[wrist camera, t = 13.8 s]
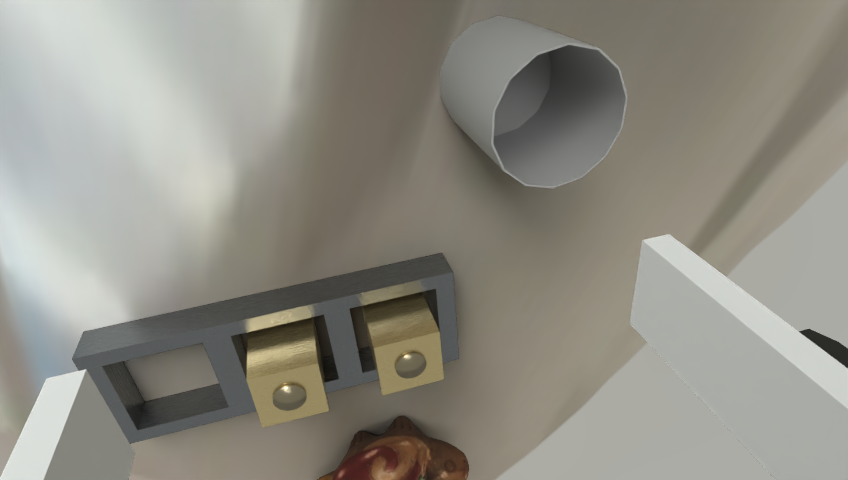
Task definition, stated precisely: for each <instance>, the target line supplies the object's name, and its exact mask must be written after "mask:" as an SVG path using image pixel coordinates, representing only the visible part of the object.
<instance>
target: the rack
mask: <svg viewBox="0 0 848 480" xmlns="http://www.w3.org/2000/svg"><path fill="white" fill-rule="evenodd" d="M427 290H428V292H429V302H430V311H431V314H432V316H433V318H434V320H435V323H436V325H437V327H438V329H439V332H440V341H441V352H442V363H445V362H448V361H452V360H456V359H459V352H458V337H457V323H456V309H455V295H454V281H453V271H452V270H451V268H450V266H449V264H448V263H447V261H446V259H445V257H444V255H443V254H442V253H439V254H435V255H430V256H426V257H421V258H417V259H412V260H408V261H403V262H398V263H394V264H389V265H385V266H380V267H376V268H371V269H367V270H362V271H358V272H353V273H349V274H344V275H339V276H335V277H330V278H326V279H321V280H317V281H312V282H308V283H303V284H299V285H294V286H290V287H285V288H280V289H276V290H271V291H267V292H262V293H258V294H253V295H249V296H244V297H240V298H235V299H231V300H226V301H221V302H217V303H212V304H208V305H203V306H199V307H194V308H190V309H185V310H181V311H176V312H172V313H167V314H162V315H158V316H153V317H149V318H144V319H140V320H135V321H131V322H126V323H122V324H117V325H113V326H108V327H103V328H99V329H94V330H90V331H85V332H83V334H82V337H81V339H80V341H79V344H78V346H77V348H76V351H75V353H74V355H73V358H72V360H73V362H74V363H75V365H76V367H77V368H78V370H79V371H81V370H85V369H87V371H88V373H89V375H90V376H91V378H92V380H93V381H94V383H95V385H96V387H97V388H98V390H99V392H100V394H101V395H102V397H103V399H104V400H105V402H106V404H107V406H108V407H109V409H110V411H111V412H112V414H113V416H114V418H115V419H116V421H117V423H118V425H119V426H120V428H121V430H122V431H123V433H124V435H125V437H126V438H127V440H128V442H129V443H130V444H131V443H135V442H139V441H143V440H146V439H150V438H154V437H158V436H162V435H166V434H170V433H174V432H177V431H181V430H185V429H189V428H193V427H197V426H201V425H205V424H208V423H212V422H216V421H220V420H224V419H228V418H232V417H235V416H239V415H243V414H247V413H251V412H255V411H257V410H256V407H255V404H254V401H253V398H252V395H251V392H250V389H249V386H248V383H247V380H246V377H247V352H246V350H245V347H244V344H243V341H242V338H241V336H240V334H242V333H246V332H251V331H255V330H259V329H264V328H268V327H272V326H277V325H281V324H285V323H289V322H294V321H298V320H302V319H307V318H311V317H315V316H320V315H324V317H325V322H326V326H327V330H328V334H329V338H330V343H331V347H332V351H333V356H329V357H325V358H322V364H323V371H324V378H325V385H326V392H327V393H328V392H332V391H336V390H340V389H344V388H348V387H352V386H356V385H359V384H363V383H367V382H371V381H375V380H378V376H377V372H376V369H375V365H374V361H373V357H372V353H371V350H370V347H366V348H362V349H358V348H357V343H356V338H355V333H354V328H353V323H352V319H351V314H350V308H354V307H358V306H363V305H367V304H371V303H376V302H380V301H384V300H389V299H393V298H397V297H401V296H406V295H410V294H414V293H419V292H423V291H427ZM199 343H203V344H204V347H205V349H206V352H207V354H208V357H209V359H210V362H211V364H212V367H213V369H214V371H215V374H216V376H217V379H218V381H219V384H216V385H212V386H208V387H204V388H199V389H195V390H191V391H187V392H183V393H179V394H175V395H171V396H167V397H163V398H159V399H155V400H151V401H147V402H144V400H143V399H142V397H141V395H140V393H139V391H138V389H137V387H136V385H135V383H134V381H133V379H132V378H131V376H130V374H129V372H128V370H127V368H126V366H125V364H124V362H123V361H126V360H130V359H134V358H139V357H143V356H147V355H152V354H156V353H160V352H165V351H169V350H173V349H177V348H182V347H186V346H190V345H195V344H199Z"/></svg>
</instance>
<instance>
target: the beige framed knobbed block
mask: <svg viewBox="0 0 848 480" xmlns="http://www.w3.org/2000/svg"><path fill="white" fill-rule="evenodd" d="M361 307H362V312H363V317H364V323H365V328H366V333H367V338H368V342H369V346H370V350H371V353H372V357H373V361H374V365H375V369H376V372H377V376H378V380H379V384H380V388H381V391H382V395H387V394H391V393H394V392H398V391H402V390H406V389H410V388H413V387H417V386H421V385H425V384H428V383H432V382H436V381H440V380H443V379H444V373H443V363H442V352H441V341H440V332H439V329H438V327H437V325H436V323H435V320H434V318H433V316H432V314H431V311H430V309H429V307H428V305H427V302H426V300H425V298H424V296H423V293H422V292H419V293H414V294H410V295H406V296H401V297H397V298H393V299H389V300H384V301H380V302H376V303H371V304H367V305H363V306H361Z"/></svg>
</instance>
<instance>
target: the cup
mask: <svg viewBox="0 0 848 480" xmlns="http://www.w3.org/2000/svg"><path fill="white" fill-rule="evenodd" d="M440 90H441V99H442V101H443V103H444V105H445V107H446V109H447V111H448V113H449V115H450V117H451V119H452V120H453V121H454V122H455V123H456V124H457V125H458V126H459V127H460V128H461V129H462V130H463V131H464V132H465V133H466V134H467V135H468V136H469V137H470V138H471V139H472V140H473V141H474V142H475V143H476V144H477V145H478V146H479V147H480V148H481V149H482V150H483V151H484V152H485V153H486V154H487V155H488V156H489V157H490V158H491V159H492V160H493V161H494V162H495V163H496V164H497V165H498V166H499V167H500V168H501V169H502V170H503V171H504V172H506V173H507V174H509V175H510V176H511V177H513V178H514V179H516V180H517V181H519V182H520V183H522V184H523V185H525V186H531V187H542V188H555V187H558V186H561V185H564V184H566V183H569V182H572V181H575V180H578V179H580V178H582V177H583V176H584V175H585V174H587V173H588V172H589V171H590V170H591V169H593V168H594V167H595V166H596V165H597V164H598V163H600V162H601V161H602V160H603V159H604V158H605V157H606V156H607V154H608V152H609V151H610V149H611V147H612V146H613V144H614V142H615V141H616V139H617V137H618V135H619V134H620V132H621V130H622V128H623V122H624V117H625V111H626V105H627V99H628V96H627V92H626V88H625V84H624V81H623V77H622V73H621V69H620V67H619V66H618V65H616V64H615V63H614V62H613V61H612V60H611V59H610V58H609V57H608V56H607V55H606V54H605V53H604V52H603V51H602V50H601V49H600V48H598V47H595V46H593V45H590V44H587V43H584V42H582V41H579V40H576V39H573V38H571V37H568V36H565V35H562V34H559V33H557V32H554V31H551V30H548V29H546V28H543V27H540V26H537V25H535V24H532V23H529V22H526V21H524V20H519V19H514V18H509V17H504V16H499V15H498V16H495V17H491V18H488V19H485V20H482V21H479V22H476V23H473V24H472V25H471V26H469V27H468V28H467V29H466V30H465V31H464V32H463V33H462V34H461V35H460V36H459V37H458V38H457V39H456V40H455V41H454V42H453V43H452V44H451V46H450V48H449V51H448V53H447V55H446V58H445V60H444V62H443V65H442V67H441V69H440Z"/></svg>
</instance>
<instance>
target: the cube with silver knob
mask: <svg viewBox="0 0 848 480" xmlns="http://www.w3.org/2000/svg"><path fill="white" fill-rule="evenodd" d="M246 380H247V383H248V386H249V389H250V392H251V395H252V398H253V401H254V404H255V407H256V410H257V413H258V416H259V419H260V422H261V425H262V428H263V427H267V426H271V425H275V424H279V423H283V422H287V421H291V420H296V419H300V418H304V417H308V416H312V415H316V414H320V413H324V412H328V411H329V406H328V399H327V392H326V385H325V378H324V371H323V364H322V357H321V350H320V346H319V341H318V337H317V332H316V328H315V324H314V319H313V317H311V318H307V319H302V320H298V321H294V322H289V323H285V324H281V325H277V326H272V327H268V328H264V329H259V330H255V331H251V332H248V344H247V377H246Z"/></svg>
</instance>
